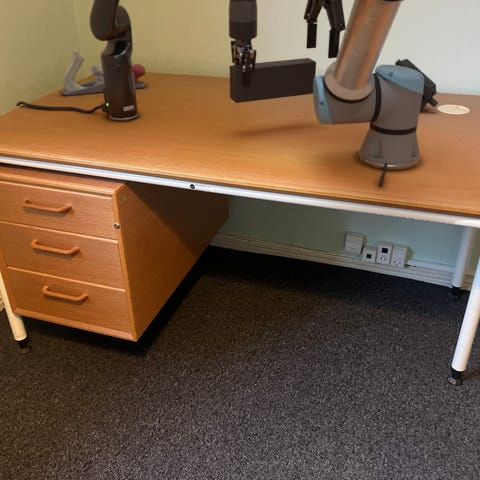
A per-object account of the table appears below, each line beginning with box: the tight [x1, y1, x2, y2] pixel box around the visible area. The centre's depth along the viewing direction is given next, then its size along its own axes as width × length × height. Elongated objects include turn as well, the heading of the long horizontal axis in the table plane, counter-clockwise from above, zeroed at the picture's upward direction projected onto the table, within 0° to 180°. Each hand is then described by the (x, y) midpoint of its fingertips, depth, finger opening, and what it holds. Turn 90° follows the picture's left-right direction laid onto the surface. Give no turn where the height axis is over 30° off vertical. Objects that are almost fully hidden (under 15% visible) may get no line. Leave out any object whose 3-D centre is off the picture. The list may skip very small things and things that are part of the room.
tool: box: [394, 58, 439, 110], centre depth 172 cm, size 6×19×15 cm, turn 51°
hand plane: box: [61, 48, 146, 96], centre depth 194 cm, size 7×31×15 cm, turn 107°
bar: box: [229, 57, 317, 104], centre depth 150 cm, size 24×5×9 cm, turn 110°
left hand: (243, 83), depth 148 cm, fingers closed on bar, 5 cm apart
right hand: (321, 52), depth 147 cm, fingers open, 13 cm apart
